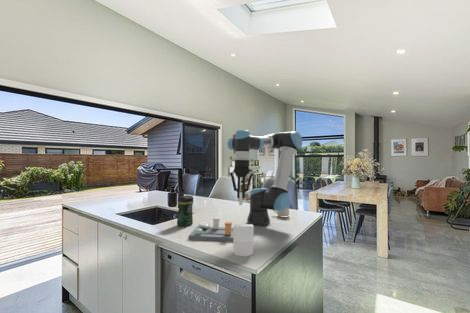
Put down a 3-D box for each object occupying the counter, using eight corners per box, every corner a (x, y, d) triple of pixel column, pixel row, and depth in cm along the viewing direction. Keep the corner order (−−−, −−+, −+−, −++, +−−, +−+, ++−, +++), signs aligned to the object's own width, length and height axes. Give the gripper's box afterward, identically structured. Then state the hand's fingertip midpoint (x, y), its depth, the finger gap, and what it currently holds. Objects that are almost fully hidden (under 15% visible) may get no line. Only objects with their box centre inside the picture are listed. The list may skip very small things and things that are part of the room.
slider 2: (231, 233, 127) (232, 222, 127) (231, 234, 123) (231, 223, 124) (225, 232, 127) (225, 221, 127) (224, 234, 124) (224, 223, 124)
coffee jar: (184, 227, 143) (185, 197, 144) (174, 225, 147) (175, 195, 148) (194, 224, 152) (195, 195, 152) (185, 222, 156) (186, 194, 156)
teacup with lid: (289, 215, 182) (289, 200, 182) (288, 218, 173) (289, 202, 174) (273, 214, 185) (273, 199, 186) (272, 217, 177) (272, 201, 177)
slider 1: (219, 227, 137) (219, 217, 137) (218, 229, 133) (218, 218, 133) (213, 227, 137) (214, 217, 137) (212, 229, 134) (212, 218, 134)
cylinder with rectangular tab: (234, 256, 102) (235, 228, 102) (231, 248, 111) (232, 223, 111) (255, 255, 103) (255, 227, 104) (250, 248, 112) (251, 222, 112)
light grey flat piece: (209, 225, 140) (210, 223, 140) (207, 228, 133) (207, 226, 133) (201, 223, 140) (201, 221, 140) (198, 226, 133) (198, 224, 133)
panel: (237, 231, 138) (238, 223, 138) (234, 241, 120) (235, 233, 120) (197, 229, 141) (197, 222, 141) (188, 239, 123) (188, 230, 123)
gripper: (254, 160, 129) (253, 203, 128) (230, 159, 130) (229, 202, 129) (254, 159, 121) (253, 206, 120) (228, 159, 122) (227, 205, 122)
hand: (240, 204), depth 125 cm, fingers closed
